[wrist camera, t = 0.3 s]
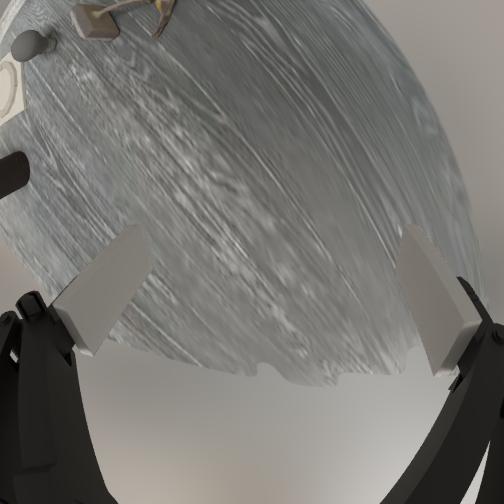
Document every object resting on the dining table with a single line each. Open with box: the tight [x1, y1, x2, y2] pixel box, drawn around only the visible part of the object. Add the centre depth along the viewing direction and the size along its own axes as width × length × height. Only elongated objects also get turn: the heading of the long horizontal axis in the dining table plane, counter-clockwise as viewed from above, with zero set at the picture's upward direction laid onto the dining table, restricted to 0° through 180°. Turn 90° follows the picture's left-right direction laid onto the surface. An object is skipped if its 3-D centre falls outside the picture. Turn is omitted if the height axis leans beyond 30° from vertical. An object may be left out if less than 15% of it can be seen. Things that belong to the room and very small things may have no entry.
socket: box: [0, 52, 27, 127], centre depth 33 cm, size 16×16×2 cm
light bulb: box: [11, 30, 56, 62], centre depth 26 cm, size 6×6×10 cm
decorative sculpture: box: [70, 0, 175, 42], centre depth 25 cm, size 16×10×7 cm, turn 94°
